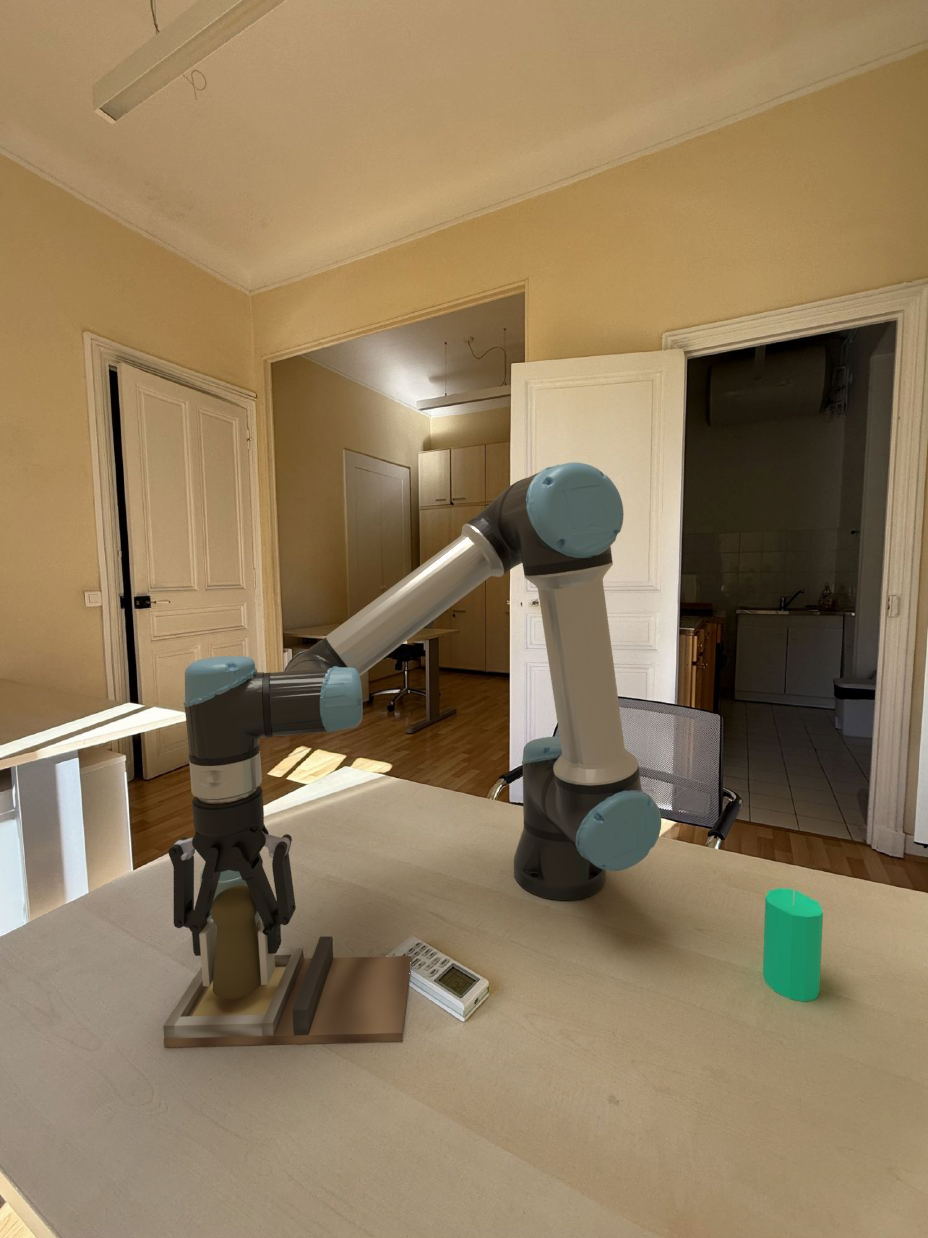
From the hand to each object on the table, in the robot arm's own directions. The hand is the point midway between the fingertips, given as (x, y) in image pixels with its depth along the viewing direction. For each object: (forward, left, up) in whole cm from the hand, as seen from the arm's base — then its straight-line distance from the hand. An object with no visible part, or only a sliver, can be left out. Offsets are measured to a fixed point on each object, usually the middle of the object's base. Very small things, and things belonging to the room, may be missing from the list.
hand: (239, 976), depth 66 cm
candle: (-67, -1, -4) cm, 67 cm away
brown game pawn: (0, 0, -1) cm, 1 cm away
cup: (+6, -13, -4) cm, 15 cm away
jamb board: (-7, 0, -3) cm, 8 cm away
